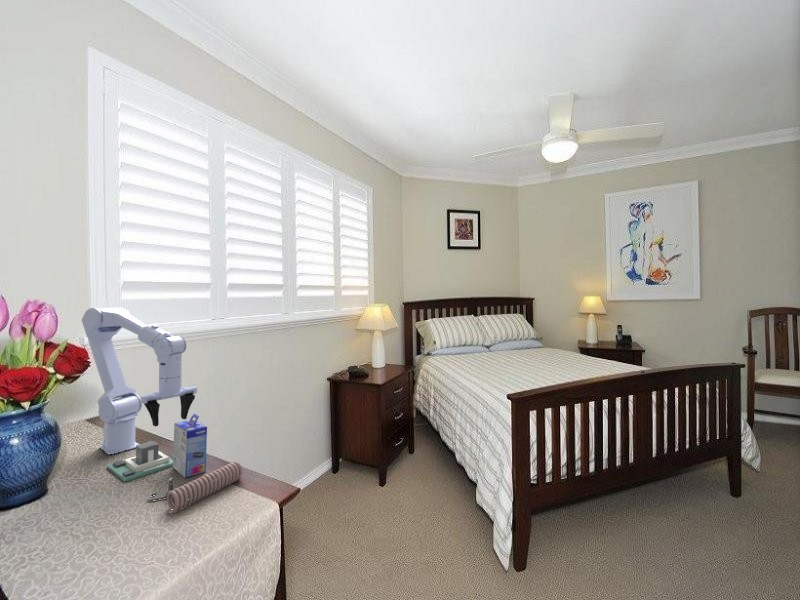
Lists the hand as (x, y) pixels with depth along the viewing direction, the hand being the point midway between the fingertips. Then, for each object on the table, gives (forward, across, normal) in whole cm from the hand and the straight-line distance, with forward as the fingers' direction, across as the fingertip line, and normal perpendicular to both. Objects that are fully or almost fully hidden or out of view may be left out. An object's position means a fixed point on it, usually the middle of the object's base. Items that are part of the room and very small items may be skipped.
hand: (170, 422), depth 108 cm
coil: (+10, -4, -32) cm, 34 cm away
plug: (+9, -7, -4) cm, 12 cm away
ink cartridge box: (+10, -1, -16) cm, 18 cm away
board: (+9, -8, -3) cm, 13 cm away
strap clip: (+10, -10, -26) cm, 29 cm away
